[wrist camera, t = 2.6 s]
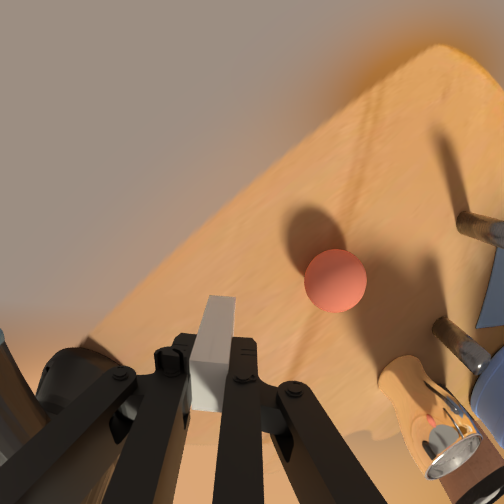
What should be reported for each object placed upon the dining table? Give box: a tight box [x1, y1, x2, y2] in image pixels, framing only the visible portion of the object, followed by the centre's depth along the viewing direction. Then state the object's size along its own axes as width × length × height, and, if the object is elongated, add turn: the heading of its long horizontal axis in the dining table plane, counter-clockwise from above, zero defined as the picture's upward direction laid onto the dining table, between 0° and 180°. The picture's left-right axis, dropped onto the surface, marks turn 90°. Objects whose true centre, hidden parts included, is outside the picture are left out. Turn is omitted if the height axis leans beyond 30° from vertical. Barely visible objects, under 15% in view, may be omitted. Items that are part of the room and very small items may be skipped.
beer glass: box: [378, 355, 483, 480], centre depth 25 cm, size 7×7×15 cm
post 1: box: [457, 211, 504, 249], centre depth 23 cm, size 3×3×9 cm
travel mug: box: [437, 384, 504, 504], centre depth 24 cm, size 8×8×20 cm
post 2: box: [432, 317, 491, 375], centre depth 26 cm, size 3×3×9 cm
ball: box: [304, 249, 367, 313], centre depth 26 cm, size 6×6×6 cm
